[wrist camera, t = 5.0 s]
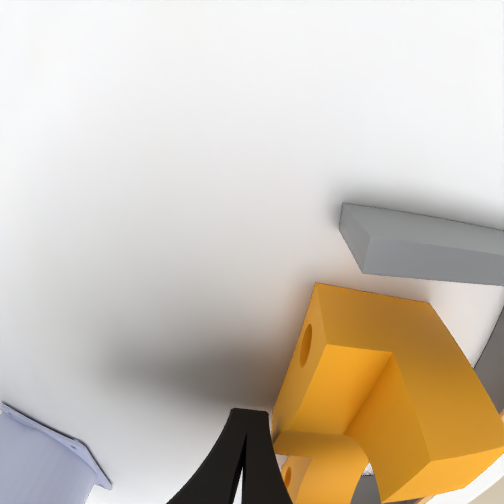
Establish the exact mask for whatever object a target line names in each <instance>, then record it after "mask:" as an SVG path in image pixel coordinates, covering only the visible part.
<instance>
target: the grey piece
mask: <svg viewBox="0 0 504 504" xmlns="http://www.w3.org/2000/svg"><path fill="white" fill-rule="evenodd" d="M339 231H340V232H341V234H342V236H343V238H344V240H345V242H346V243H347V245H348V247H349V249H350V251H351V253H352V255H353V256H354V258H355V260H356V262H357V264H358V266H359V268H360V270H361V272H362V274H373V275H383V276H394V277H405V278H416V279H427V280H438V281H449V282H461V283H473V284H484V285H497V286H504V231H501V230H496V229H491V228H487V227H482V226H477V225H472V224H467V223H462V222H457V221H452V220H447V219H441V218H436V217H430V216H425V215H419V214H413V213H407V212H401V211H394V210H388V209H381V208H375V207H368V206H361V205H354V204H346V203H343V206H342V213H341V219H340V226H339ZM474 371H475V373H476V375H477V376H478V378H479V380H480V381H481V383H482V385H483V386H484V388H485V390H486V392H487V393H488V395H489V397H490V399H491V401H492V402H493V404H494V406H495V408H496V410H497V412H498V414H499V416H500V418H501V419H502V421H503V423H504V308H503V311H502V313H501V315H500V318H499V320H498V322H497V324H496V327H495V329H494V331H493V333H492V335H491V337H490V339H489V341H488V343H487V345H486V347H485V349H484V351H483V353H482V355H481V357H480V359H479V361H478V362H477V364H476V366H475V368H474ZM434 496H435V495H432V496H427V497H422V498H416V499H410V500H404V501H396V502H388V503H381V500H380V494H379V489H378V485H377V481H376V478H375V475H370V476H361V477H360V479H359V481H358V483H357V486H356V488H355V491H354V493H353V496H352V499H351V502H350V504H425V503H427V502H428V501H429V500H430V499H432V498H433V497H434Z"/></svg>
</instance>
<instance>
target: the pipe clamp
mask: <svg viewBox="0 0 504 504" xmlns="http://www.w3.org/2000/svg"><path fill="white" fill-rule="evenodd" d="M271 440H272V445H273V449H274V453H275V454H280V455H289V457H288V459H287V460H286V462H285V464H284V465H283V467H282V469H281V475H282V478H283V481H284V484H285V486H286V489H287V491H288V493H289V496H290V498H291V500H292V502H293V504H350V502H351V499H352V496H353V493H354V491H355V488H356V486H357V483H358V481H359V479H360V477H361V475H362V473H363V471H364V469H365V468H366V466H367V465H368V463H369V462H370V464H371V466H372V469H373V472H374V474H375V478H376V481H377V485H378V489H379V494H380V500H381V503H388V502H396V501H404V500H410V499H416V498H422V497H427V496H432V495H437V494H441V493H446V492H450V491H454V490H458V489H462V488H465V487H466V486H467V485H468V484H470V483H471V482H472V481H473V480H474V479H476V478H477V477H478V476H479V475H480V474H481V473H483V472H484V471H485V470H486V469H487V468H488V467H489V466H491V465H492V464H493V463H494V462H495V461H496V460H497V459H498V458H499V457H500V456H501V455H502V454H503V453H504V423H503V421H502V419H501V418H500V416H499V414H498V412H497V410H496V408H495V406H494V404H493V402H492V401H491V399H490V397H489V395H488V393H487V392H486V390H485V388H484V386H483V385H482V383H481V381H480V380H479V378H478V376H477V375H476V373H475V371H474V370H473V368H472V366H471V365H470V363H469V361H468V360H467V358H466V357H465V355H464V353H463V352H462V350H461V349H460V347H459V346H458V344H457V343H456V341H455V340H454V338H453V337H452V335H451V334H450V332H449V331H448V329H447V328H446V326H445V325H444V323H443V322H442V320H441V319H440V317H439V316H438V315H437V313H436V312H435V310H434V309H433V308H432V306H431V305H430V303H427V302H421V301H415V300H409V299H404V298H398V297H392V296H387V295H381V294H376V293H370V292H365V291H359V290H354V289H348V288H343V287H338V286H332V285H327V284H322V283H315V286H314V290H313V293H312V296H311V300H310V303H309V306H308V309H307V313H306V316H305V319H304V322H303V325H302V328H301V331H300V334H299V338H298V341H297V344H296V347H295V350H294V353H293V356H292V358H291V361H290V364H289V367H288V370H287V373H286V376H285V379H284V381H283V384H282V387H281V390H280V392H279V395H278V398H277V401H276V403H275V406H274V409H273V413H272V427H271Z"/></svg>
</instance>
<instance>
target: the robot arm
mask: <svg viewBox="0 0 504 504" xmlns="http://www.w3.org/2000/svg"><path fill="white" fill-rule="evenodd" d="M0 409H1V410H2V413H1V415H0V504H85V502H86V500H87V498H88V496H89V493H90V491H91V489H92V487H93V485H94V484H96V485H98V486H101V487H103V488H106V489H108V490H111V489H112V485H111V484H110V483H109V481H108V480H107V478H106V477H105V476H104V474H103V473H102V471H101V470H100V468H99V467H98V465H97V464H96V462H95V461H94V459H93V458H92V456H91V455H90V453H89V451H88V450H87V448H86V447H85V446H84V445H82V444H81V443H79V442H76V441H74V440H72V439H70V438H67V437H65V436H63V435H61V434H59V433H56V432H54V431H52V430H50V429H48V428H46V427H44V426H42V425H40V424H38V423H36V422H35V421H33V420H31V419H29V418H27V417H25V416H24V415H22V414H20V413H18V412H17V411H15V410H13V409H11V408H10V407H8V406H6V405H5V404H3V403H0ZM242 467H243V476H242V502H241V504H293V502H292V500H291V498H290V496H289V493H288V491H287V489H286V486H285V484H284V481H283V478H282V475H281V473H280V470H279V467H278V463H277V460H276V456H275V453H274V449H273V445H272V440H271V435H270V429H269V414H268V413H267V412H266V411H257V410H248V409H240V408H233V409H231V411H230V415H229V417H228V420H227V422H226V424H225V426H224V428H223V430H222V432H221V434H220V436H219V438H218V440H217V441H216V443H215V445H214V446H213V448H212V449H211V451H210V453H209V454H208V456H207V457H206V458H205V460H204V461H203V463H202V464H201V465H200V467H199V468H198V470H197V471H196V472H195V473H194V475H193V476H192V477H191V478H190V479H189V481H188V482H187V483H186V484H185V485H184V486H183V487H182V488H181V489H180V491H179V492H178V493H177V494H176V495H175V496H174V497H173V498H172V499H171V500H169V501H168V502H167V503H166V504H233V502H234V498H235V494H236V490H237V487H238V483H239V479H240V475H241V471H242Z"/></svg>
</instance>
